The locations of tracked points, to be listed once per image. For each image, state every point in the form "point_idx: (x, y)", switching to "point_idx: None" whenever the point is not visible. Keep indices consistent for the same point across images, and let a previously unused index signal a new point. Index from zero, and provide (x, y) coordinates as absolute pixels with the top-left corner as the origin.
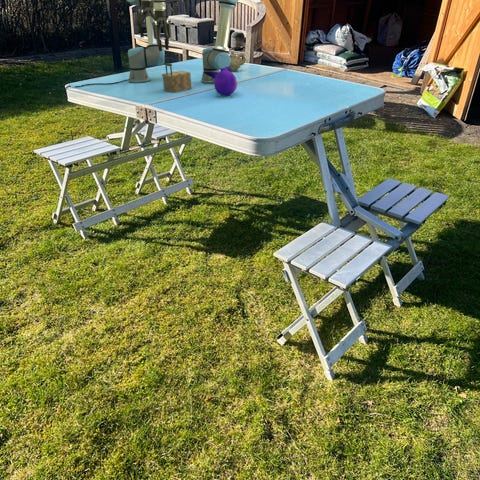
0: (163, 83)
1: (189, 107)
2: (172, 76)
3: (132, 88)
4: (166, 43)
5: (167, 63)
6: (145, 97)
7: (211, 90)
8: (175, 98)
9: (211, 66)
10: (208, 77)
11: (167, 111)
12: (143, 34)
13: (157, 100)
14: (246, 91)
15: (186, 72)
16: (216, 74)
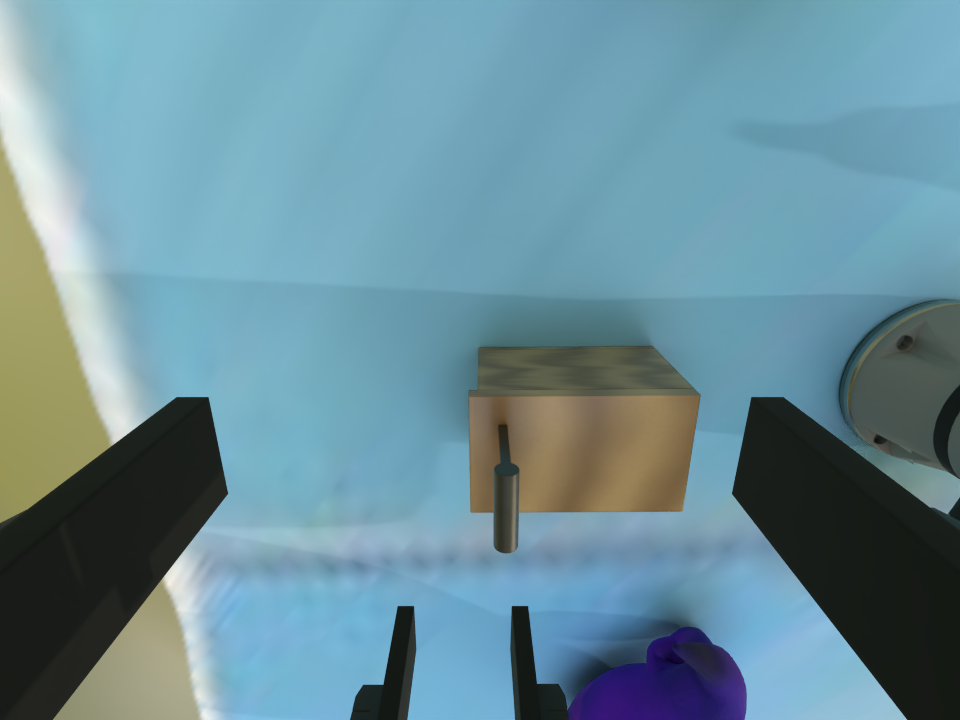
0: (478, 366)
1: (330, 716)
2: (484, 509)
3: (347, 54)
4: (516, 715)
5: (502, 509)
6: (268, 412)
7: (675, 562)
8: (391, 557)
9: None
10: (881, 430)
11: (212, 700)
12: (186, 542)
13: (286, 522)
14: (758, 696)
15: (656, 496)
16: (691, 714)
